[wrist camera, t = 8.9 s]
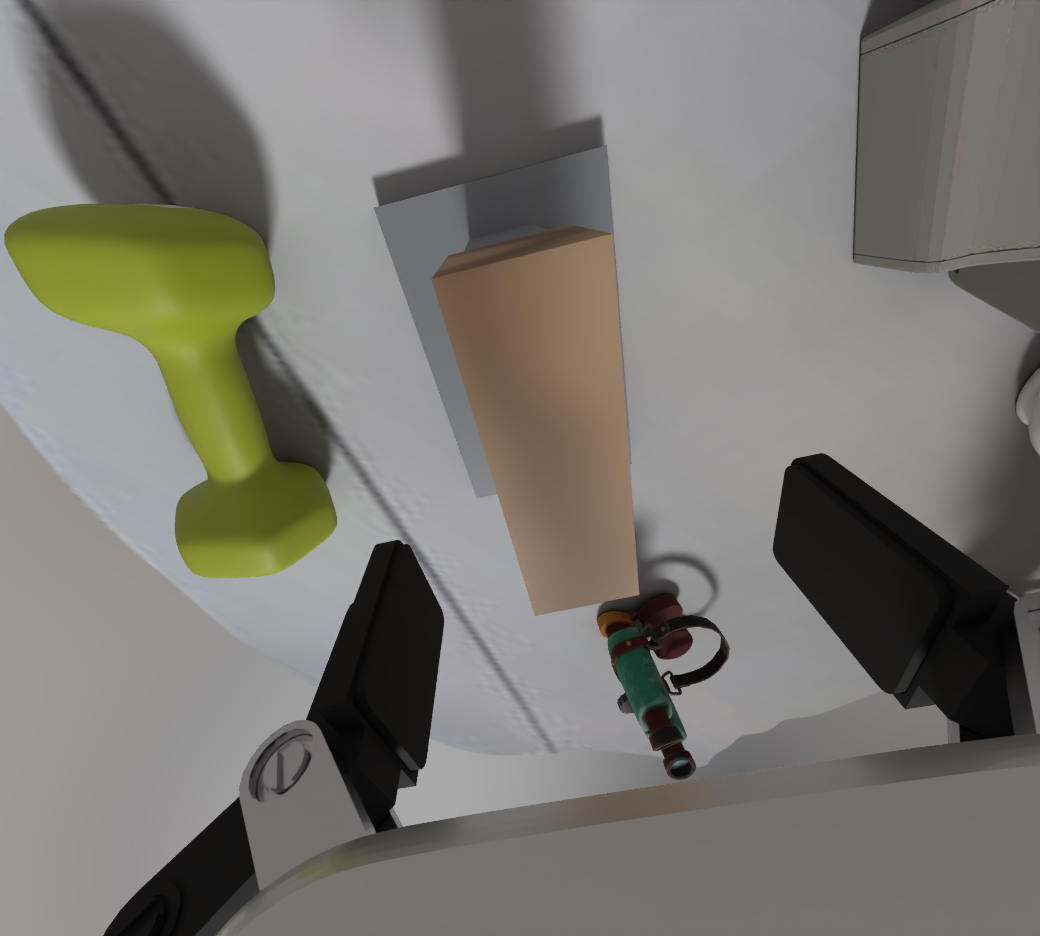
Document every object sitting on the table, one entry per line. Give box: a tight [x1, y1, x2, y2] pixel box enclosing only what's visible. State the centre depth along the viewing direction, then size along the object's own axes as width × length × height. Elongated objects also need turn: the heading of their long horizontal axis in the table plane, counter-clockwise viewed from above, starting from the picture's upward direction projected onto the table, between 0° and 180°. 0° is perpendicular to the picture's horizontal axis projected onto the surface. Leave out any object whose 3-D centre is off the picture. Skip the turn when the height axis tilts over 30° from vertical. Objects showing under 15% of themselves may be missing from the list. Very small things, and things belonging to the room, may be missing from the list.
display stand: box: [374, 145, 632, 498], centre depth 19 cm, size 10×16×7 cm, turn 13°
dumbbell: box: [5, 204, 337, 578], centre depth 19 cm, size 16×8×7 cm, turn 177°
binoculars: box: [597, 594, 729, 780], centre depth 32 cm, size 9×11×10 cm
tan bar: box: [431, 225, 639, 616], centre depth 14 cm, size 4×12×5 cm, turn 12°
